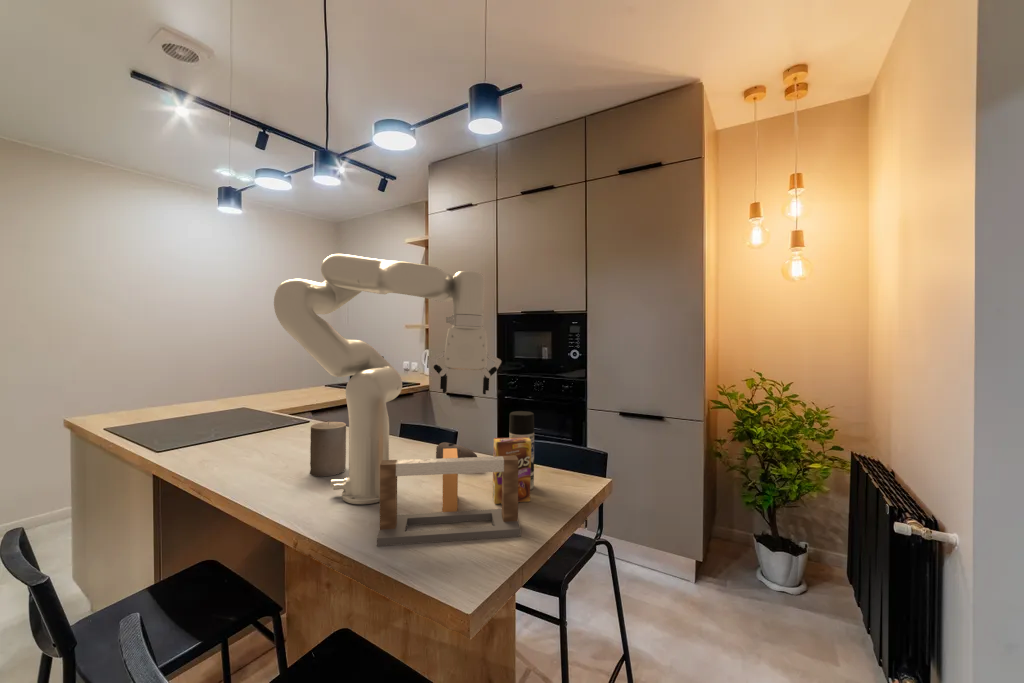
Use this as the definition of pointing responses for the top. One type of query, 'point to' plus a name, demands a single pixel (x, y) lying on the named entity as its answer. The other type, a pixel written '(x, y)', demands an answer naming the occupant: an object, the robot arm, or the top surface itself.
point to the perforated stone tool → (461, 451)
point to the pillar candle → (328, 448)
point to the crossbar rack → (396, 524)
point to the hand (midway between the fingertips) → (464, 392)
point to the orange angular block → (450, 485)
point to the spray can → (523, 432)
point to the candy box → (523, 453)
